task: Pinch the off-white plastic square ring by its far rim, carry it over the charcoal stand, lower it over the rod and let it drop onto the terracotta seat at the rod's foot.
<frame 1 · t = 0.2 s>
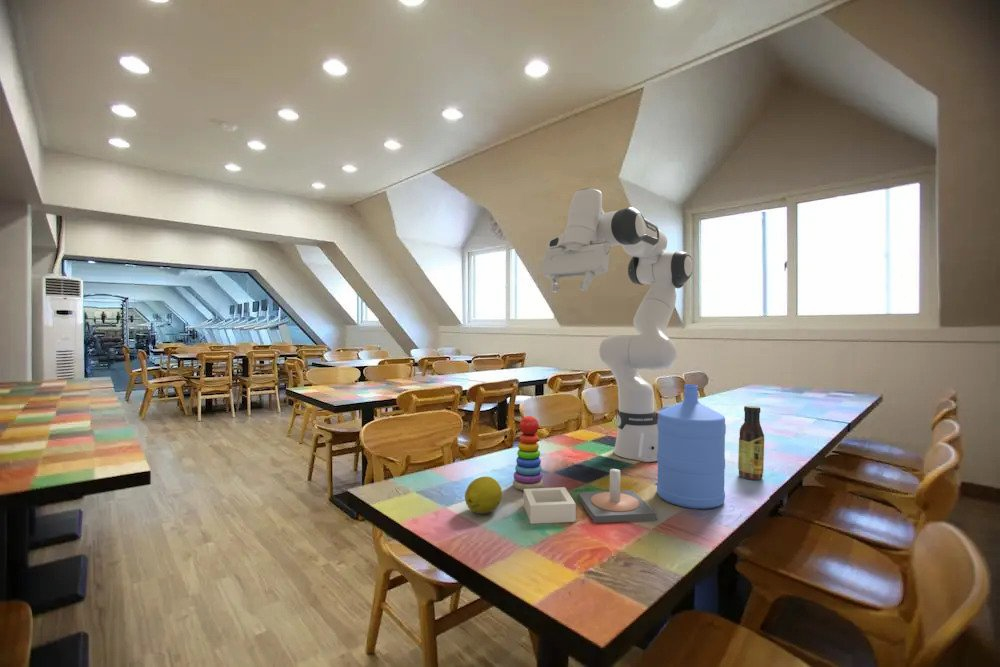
hand: (568, 290, 124), 52 cm above the table, tool tilted 20°, fingers open, 8 cm apart
lemon: (482, 513, 107), on the table
stacking toy: (528, 487, 123), on the table
water jug: (689, 498, 116), on the table
sauce bottle: (750, 477, 131), on the table
rod stand: (614, 508, 109), on the table
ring: (548, 513, 107), on the table
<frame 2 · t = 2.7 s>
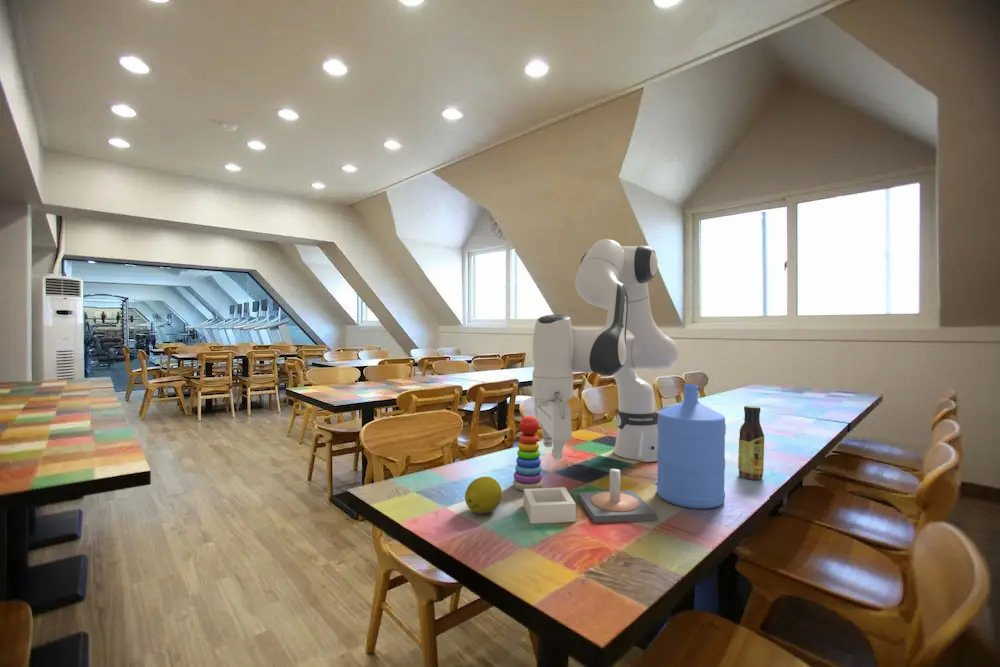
hand: (552, 452, 102), 15 cm above the table, tool pointing down, fingers open, 8 cm apart
nothing on the table moved.
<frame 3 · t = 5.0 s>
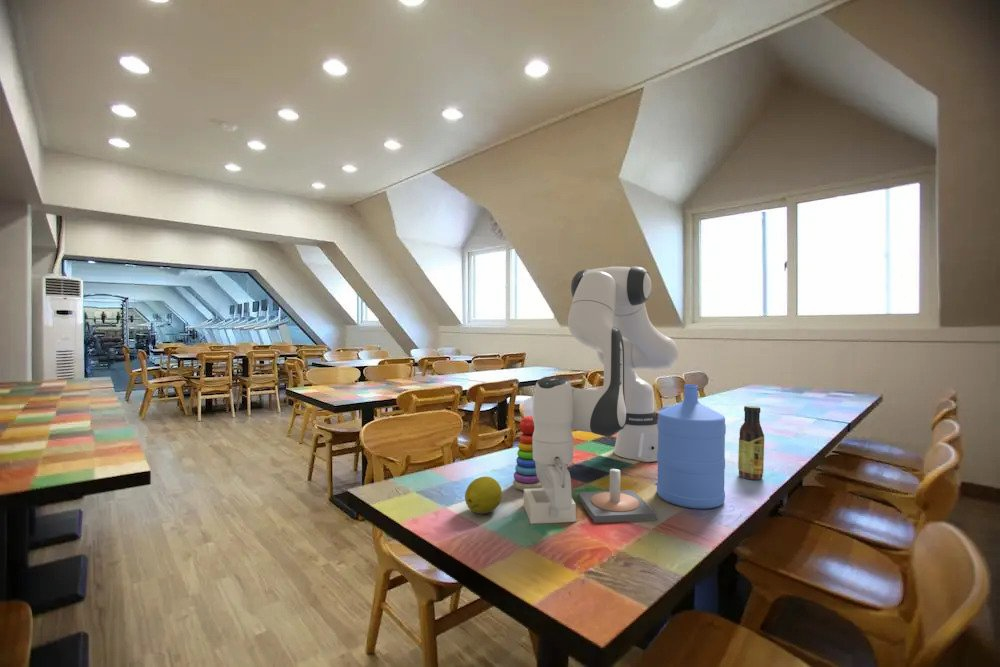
hand: (552, 513, 102), 2 cm above the table, tool pointing down, fingers closed on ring
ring: (548, 513, 107), on the table, touching gripper
everything else where it was.
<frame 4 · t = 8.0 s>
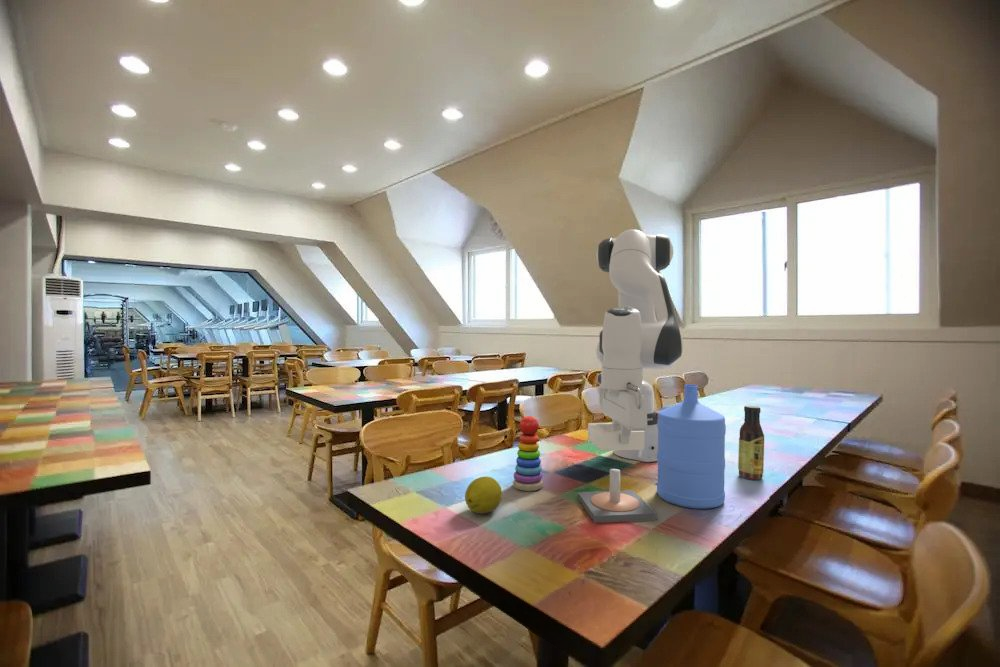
hand: (621, 441, 105), 17 cm above the table, tool pointing down, fingers closed on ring
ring: (615, 444, 109), point 15 cm above the table, touching gripper
everything else where it was.
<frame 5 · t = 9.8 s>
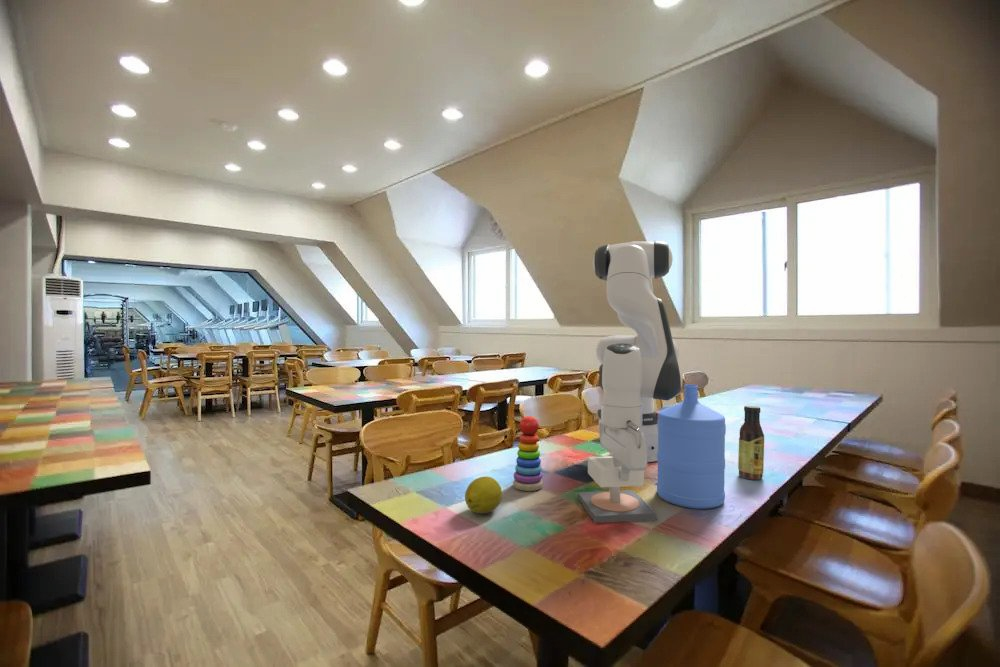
hand: (621, 477, 105), 9 cm above the table, tool pointing down, fingers closed on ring
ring: (614, 479, 109), point 7 cm above the table, touching gripper
everything else where it was.
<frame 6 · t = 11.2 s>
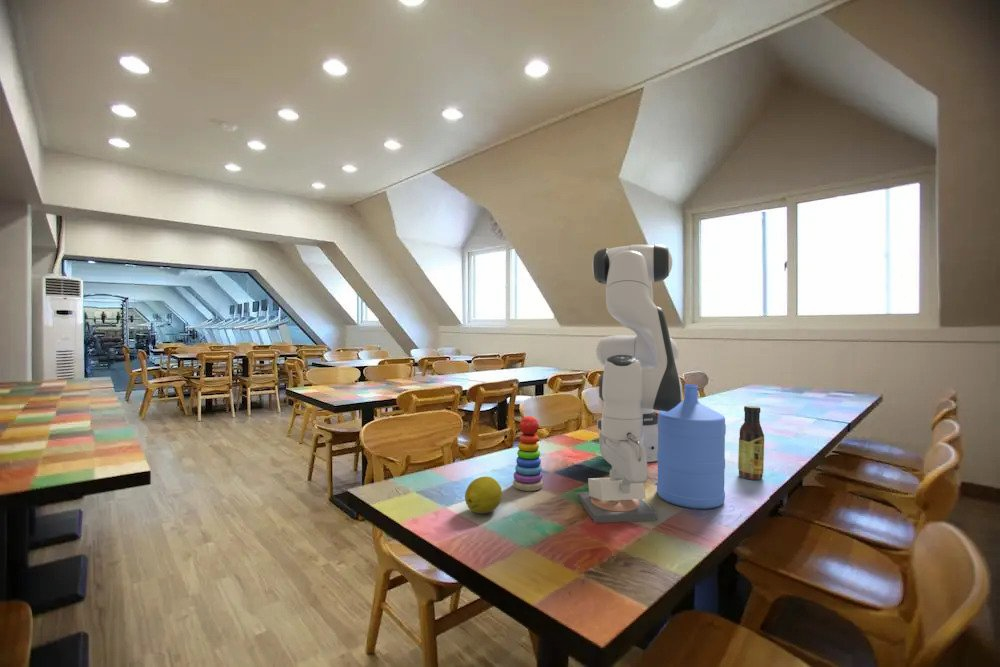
hand: (621, 489, 105), 6 cm above the table, tool pointing down, fingers closed
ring: (616, 497, 108), point 3 cm above the table, tilted 15°, touching rod stand
everything else where it was.
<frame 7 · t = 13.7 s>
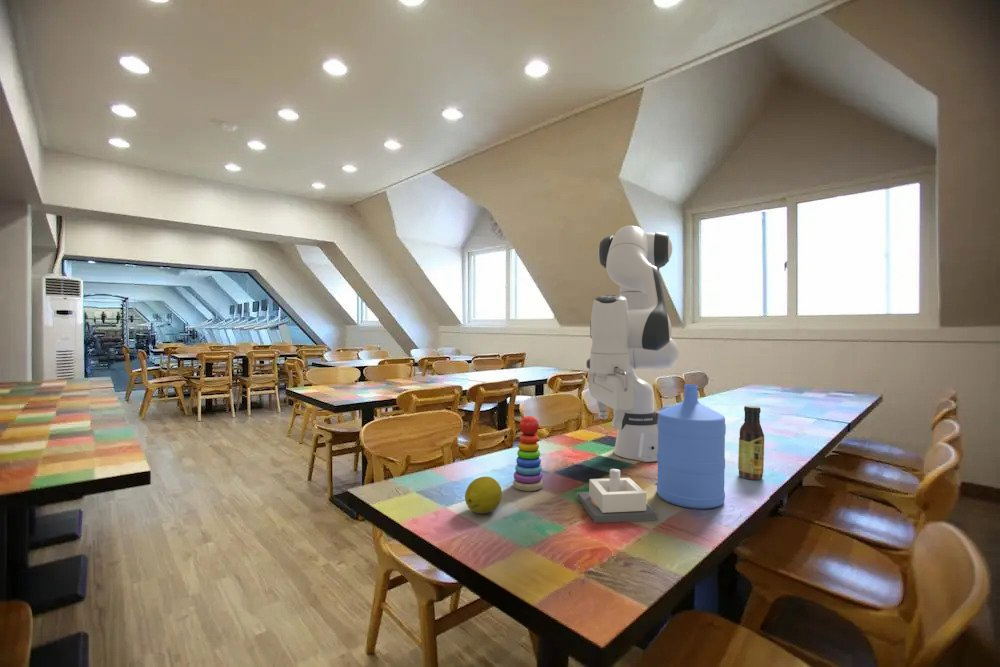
hand: (609, 423, 109), 20 cm above the table, tool pointing down, fingers open, 8 cm apart
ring: (616, 502, 108), point 2 cm above the table, touching rod stand
everything else where it was.
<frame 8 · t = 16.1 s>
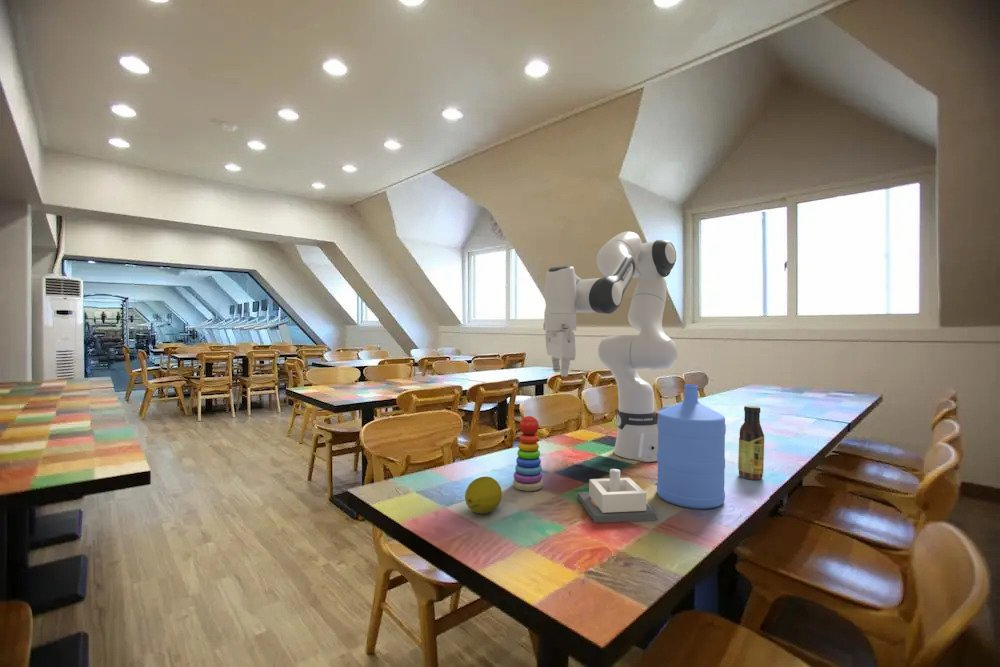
hand: (560, 374, 129), 29 cm above the table, tool pointing down, fingers open, 8 cm apart
nothing on the table moved.
at the end: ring 1.2 cm off-centre on the rod stand, point 1.8 cm above the rod stand's base; the gripper is holding nothing; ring tilted 0° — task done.
